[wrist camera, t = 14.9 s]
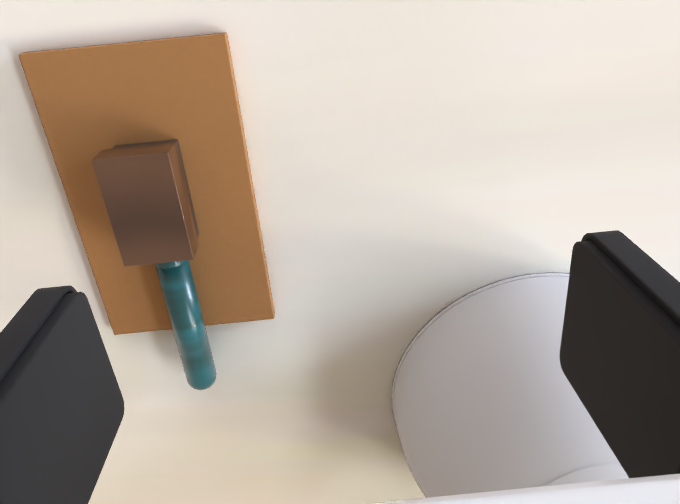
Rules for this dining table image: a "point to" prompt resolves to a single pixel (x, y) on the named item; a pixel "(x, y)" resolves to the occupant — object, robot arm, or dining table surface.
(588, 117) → the dining table surface
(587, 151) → the dining table surface
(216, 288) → the cork mat
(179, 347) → the brush
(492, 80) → the dining table surface
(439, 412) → the kettle
